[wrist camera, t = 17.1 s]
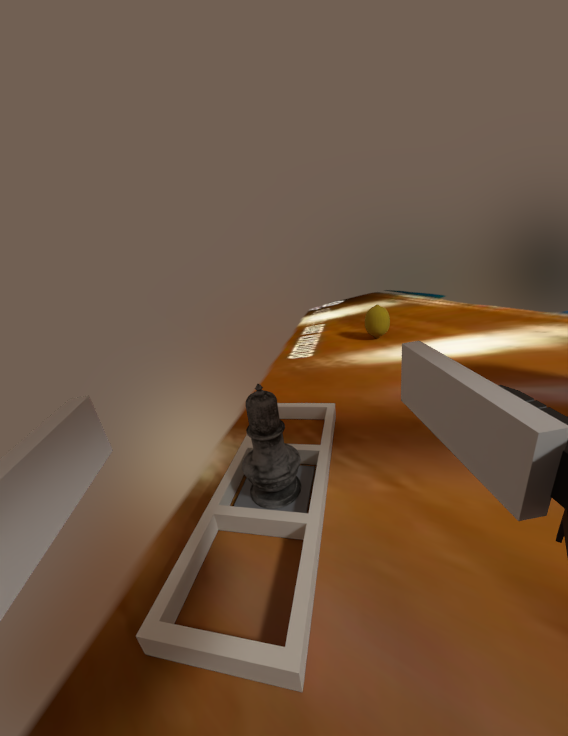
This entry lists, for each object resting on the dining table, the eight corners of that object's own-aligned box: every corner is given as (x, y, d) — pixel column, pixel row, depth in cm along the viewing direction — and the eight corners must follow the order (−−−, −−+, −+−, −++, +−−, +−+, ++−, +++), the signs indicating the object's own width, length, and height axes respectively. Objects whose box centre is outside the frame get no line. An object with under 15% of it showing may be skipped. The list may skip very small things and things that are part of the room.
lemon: (386, 342, 69) (386, 307, 66) (362, 341, 71) (361, 307, 68) (391, 335, 73) (392, 301, 70) (368, 334, 76) (368, 302, 73)
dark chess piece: (296, 516, 28) (280, 401, 23) (238, 506, 30) (212, 399, 25) (309, 471, 33) (298, 370, 29) (259, 466, 35) (241, 370, 30)
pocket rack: (265, 414, 46) (264, 403, 45) (335, 415, 43) (334, 403, 43) (145, 654, 20) (135, 636, 19) (302, 692, 17) (299, 673, 16)
